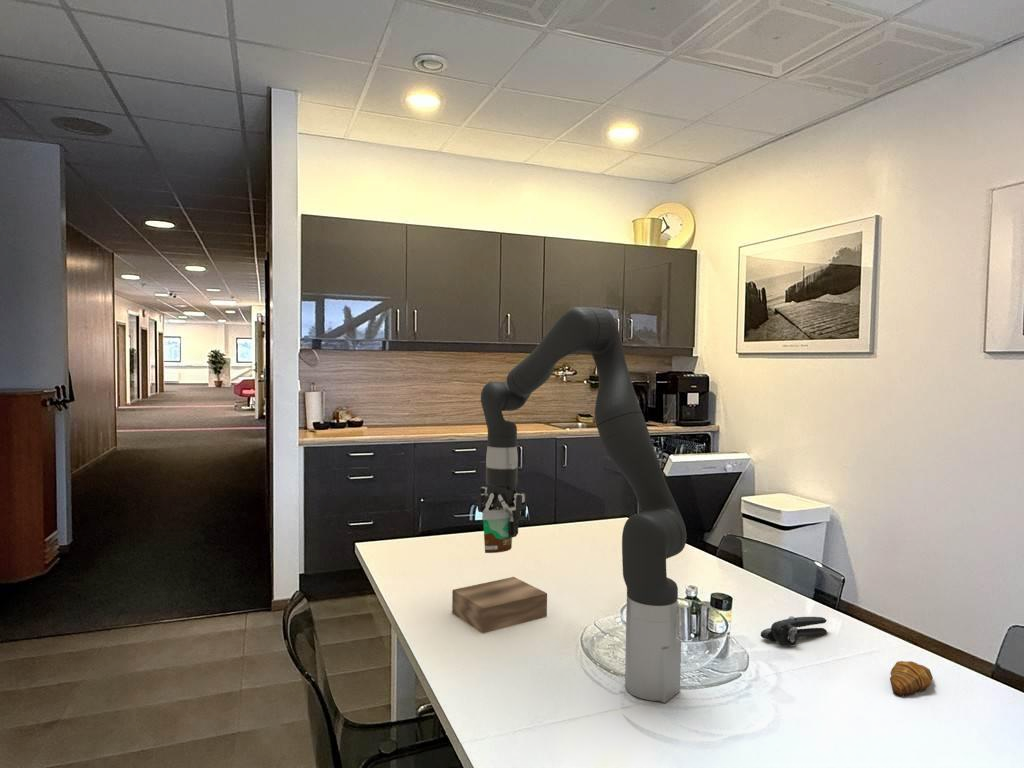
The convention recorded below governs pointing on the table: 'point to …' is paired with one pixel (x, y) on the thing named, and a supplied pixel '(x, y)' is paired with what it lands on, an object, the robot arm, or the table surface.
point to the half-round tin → (496, 530)
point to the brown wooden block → (499, 604)
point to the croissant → (909, 678)
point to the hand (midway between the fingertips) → (501, 533)
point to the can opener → (793, 630)
